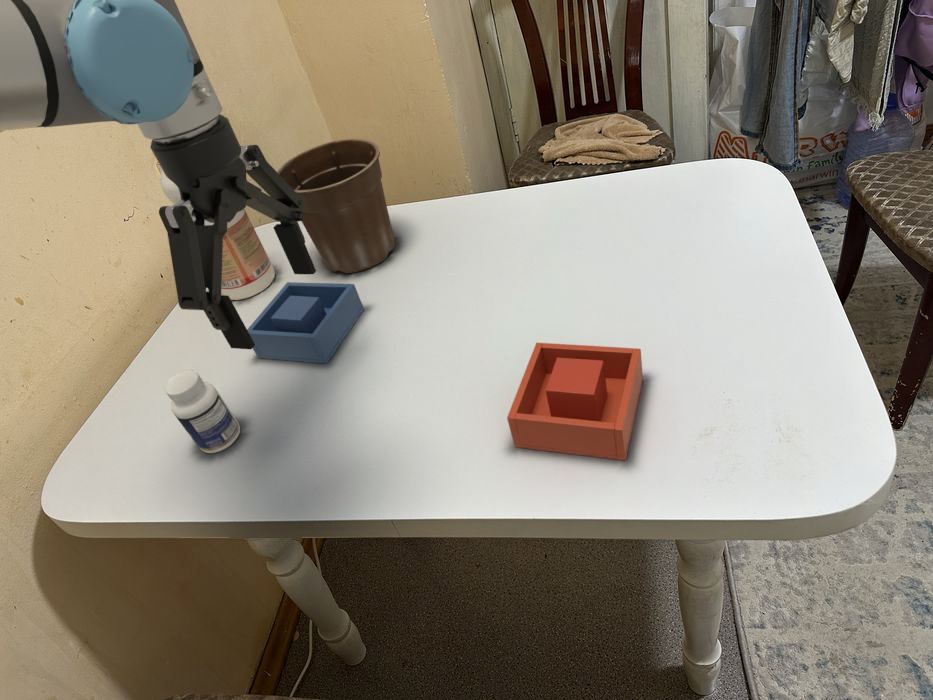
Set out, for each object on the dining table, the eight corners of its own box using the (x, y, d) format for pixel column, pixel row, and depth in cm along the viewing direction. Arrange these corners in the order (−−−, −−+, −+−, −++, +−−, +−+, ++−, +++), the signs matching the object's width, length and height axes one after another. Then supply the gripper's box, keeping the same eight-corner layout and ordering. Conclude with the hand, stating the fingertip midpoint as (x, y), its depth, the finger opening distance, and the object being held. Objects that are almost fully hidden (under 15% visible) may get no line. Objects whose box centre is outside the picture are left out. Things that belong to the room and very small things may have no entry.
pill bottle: (196, 435, 83) (155, 380, 77) (236, 414, 84) (200, 358, 78) (203, 461, 79) (161, 405, 73) (245, 440, 80) (207, 383, 74)
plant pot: (425, 251, 104) (395, 156, 94) (332, 296, 100) (291, 202, 90) (385, 216, 116) (355, 129, 106) (301, 255, 112) (262, 168, 102)
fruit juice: (225, 309, 105) (129, 143, 87) (218, 282, 112) (128, 123, 94) (281, 285, 106) (198, 117, 88) (271, 260, 113) (192, 100, 96)
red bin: (514, 447, 70) (506, 417, 67) (542, 371, 78) (536, 342, 75) (625, 460, 65) (622, 430, 62) (643, 379, 73) (640, 348, 70)
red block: (552, 423, 70) (545, 390, 67) (562, 390, 74) (556, 357, 71) (598, 428, 68) (593, 394, 65) (607, 393, 72) (603, 360, 69)
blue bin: (257, 358, 93) (243, 333, 90) (299, 306, 100) (287, 282, 97) (327, 363, 88) (314, 337, 85) (364, 309, 96) (354, 283, 93)
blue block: (284, 345, 92) (270, 317, 89) (303, 322, 96) (290, 295, 92) (314, 348, 90) (300, 320, 87) (331, 324, 94) (319, 297, 90)
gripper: (126, 191, 52) (241, 386, 65) (287, 73, 69) (352, 246, 82) (60, 195, 54) (183, 380, 68) (230, 80, 71) (302, 246, 85)
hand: (276, 307), depth 75 cm, fingers open, 13 cm apart
